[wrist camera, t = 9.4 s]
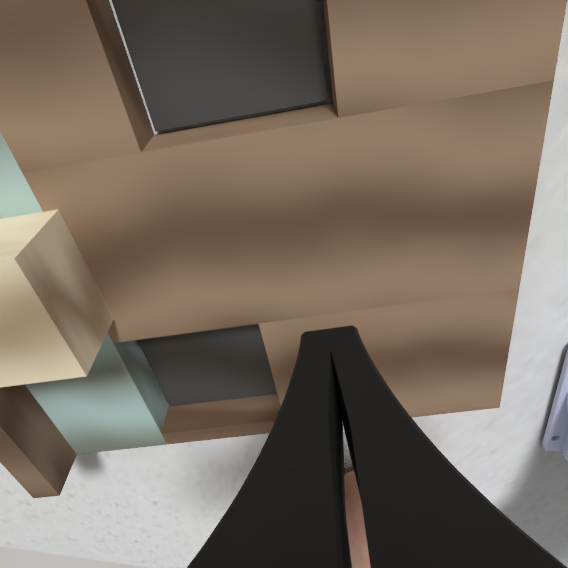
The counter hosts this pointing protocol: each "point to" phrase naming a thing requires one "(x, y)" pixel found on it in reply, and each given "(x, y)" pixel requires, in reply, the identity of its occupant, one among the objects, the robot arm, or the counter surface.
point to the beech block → (46, 303)
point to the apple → (355, 523)
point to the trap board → (271, 202)
